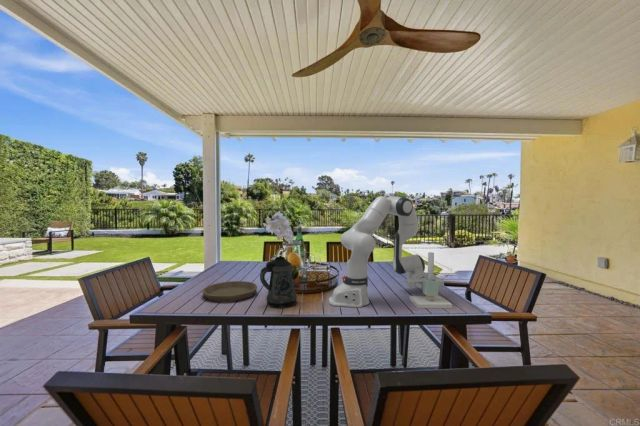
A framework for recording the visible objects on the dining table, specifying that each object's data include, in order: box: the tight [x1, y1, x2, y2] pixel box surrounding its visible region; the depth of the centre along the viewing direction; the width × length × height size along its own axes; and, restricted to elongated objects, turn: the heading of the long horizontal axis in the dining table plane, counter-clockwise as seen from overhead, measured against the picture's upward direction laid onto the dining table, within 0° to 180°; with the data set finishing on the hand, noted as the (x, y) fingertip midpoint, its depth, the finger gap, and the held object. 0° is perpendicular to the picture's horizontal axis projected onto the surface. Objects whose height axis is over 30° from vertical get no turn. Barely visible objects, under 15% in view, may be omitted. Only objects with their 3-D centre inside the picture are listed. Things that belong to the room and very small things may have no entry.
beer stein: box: [259, 256, 298, 309], centre depth 161 cm, size 16×19×25 cm
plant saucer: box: [201, 280, 258, 303], centre depth 176 cm, size 31×31×5 cm
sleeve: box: [422, 278, 439, 296], centre depth 163 cm, size 6×6×8 cm
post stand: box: [409, 251, 453, 309], centre depth 163 cm, size 18×14×28 cm
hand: (430, 286), depth 163 cm, fingers open, 8 cm apart
